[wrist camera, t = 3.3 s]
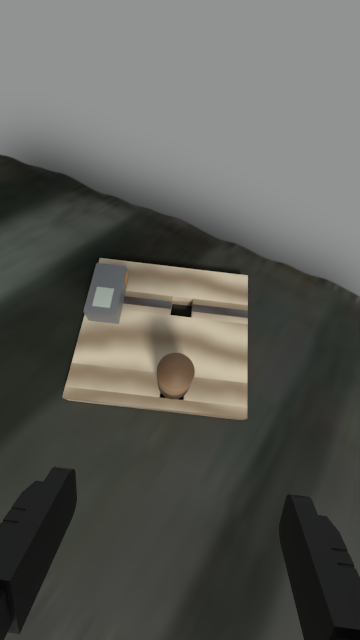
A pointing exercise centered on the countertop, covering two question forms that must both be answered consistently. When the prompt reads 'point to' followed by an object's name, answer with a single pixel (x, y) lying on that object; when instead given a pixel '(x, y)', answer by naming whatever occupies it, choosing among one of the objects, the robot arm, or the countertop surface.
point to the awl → (175, 375)
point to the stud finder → (106, 293)
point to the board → (168, 343)
